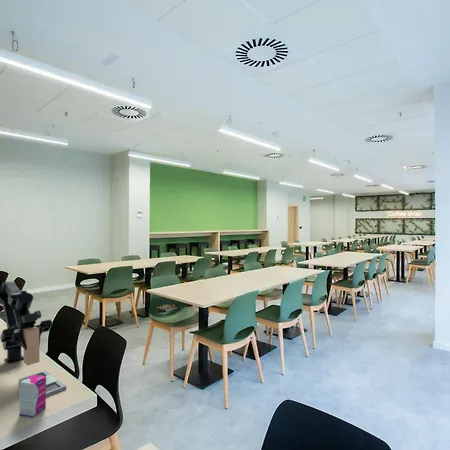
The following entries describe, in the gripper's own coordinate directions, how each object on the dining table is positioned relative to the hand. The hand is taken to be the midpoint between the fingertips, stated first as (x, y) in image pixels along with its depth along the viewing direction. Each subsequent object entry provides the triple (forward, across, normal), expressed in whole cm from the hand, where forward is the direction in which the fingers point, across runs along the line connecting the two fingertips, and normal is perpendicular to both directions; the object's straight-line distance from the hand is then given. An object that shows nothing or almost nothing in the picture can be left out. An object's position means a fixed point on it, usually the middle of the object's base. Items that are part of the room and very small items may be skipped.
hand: (32, 347), depth 133 cm
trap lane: (+16, 0, +3) cm, 16 cm away
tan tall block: (+4, 0, +6) cm, 7 cm away
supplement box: (+28, -9, -9) cm, 31 cm away
